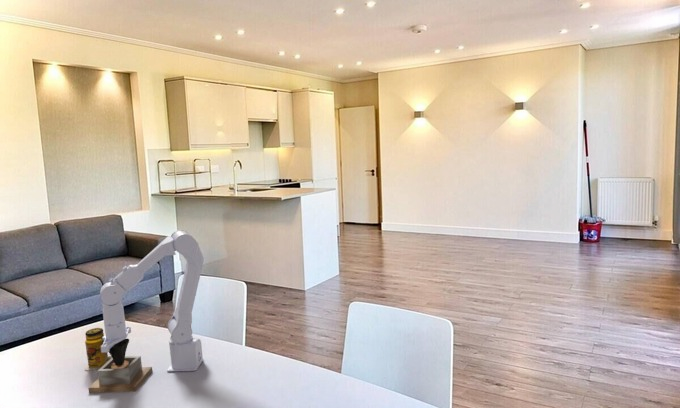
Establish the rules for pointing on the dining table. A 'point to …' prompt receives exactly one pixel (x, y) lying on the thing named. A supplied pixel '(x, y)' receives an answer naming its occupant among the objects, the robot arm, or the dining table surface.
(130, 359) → the base
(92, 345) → the condiment
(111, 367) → the plunger
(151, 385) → the dining table surface
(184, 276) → the robot arm
